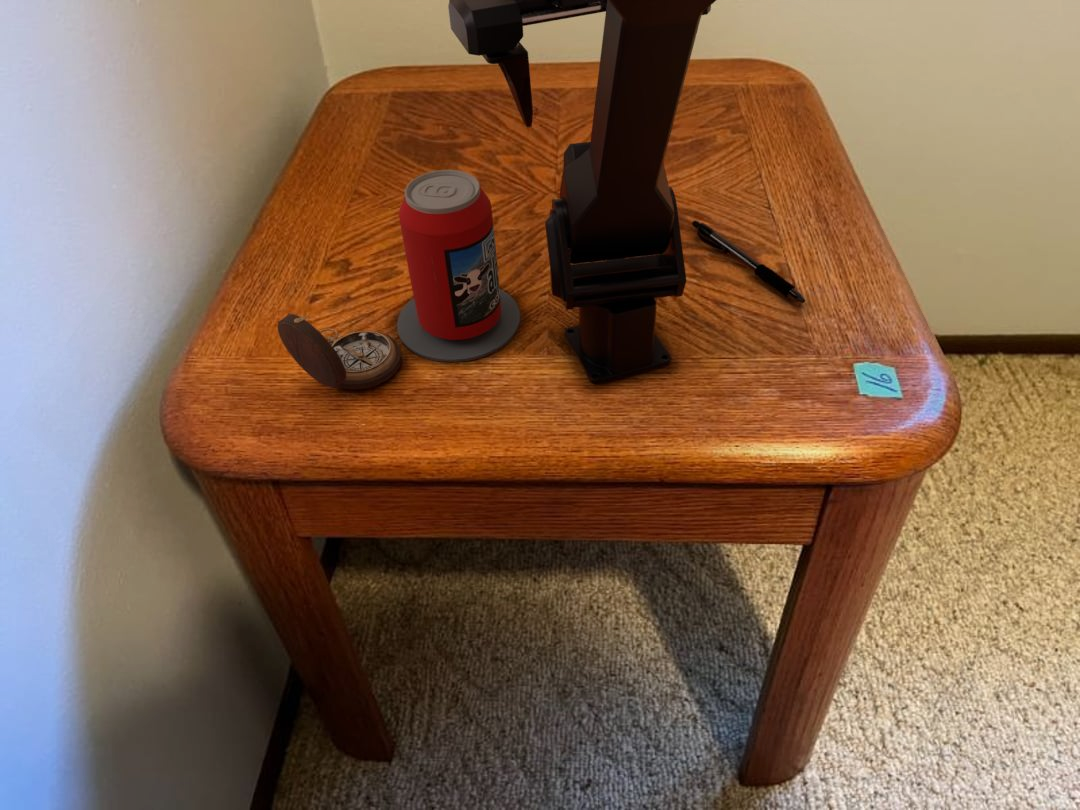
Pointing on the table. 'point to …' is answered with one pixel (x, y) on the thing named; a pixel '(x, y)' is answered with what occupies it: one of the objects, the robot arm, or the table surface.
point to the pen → (747, 261)
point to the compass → (340, 354)
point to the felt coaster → (458, 349)
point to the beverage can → (451, 254)
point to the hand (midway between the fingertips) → (581, 113)
